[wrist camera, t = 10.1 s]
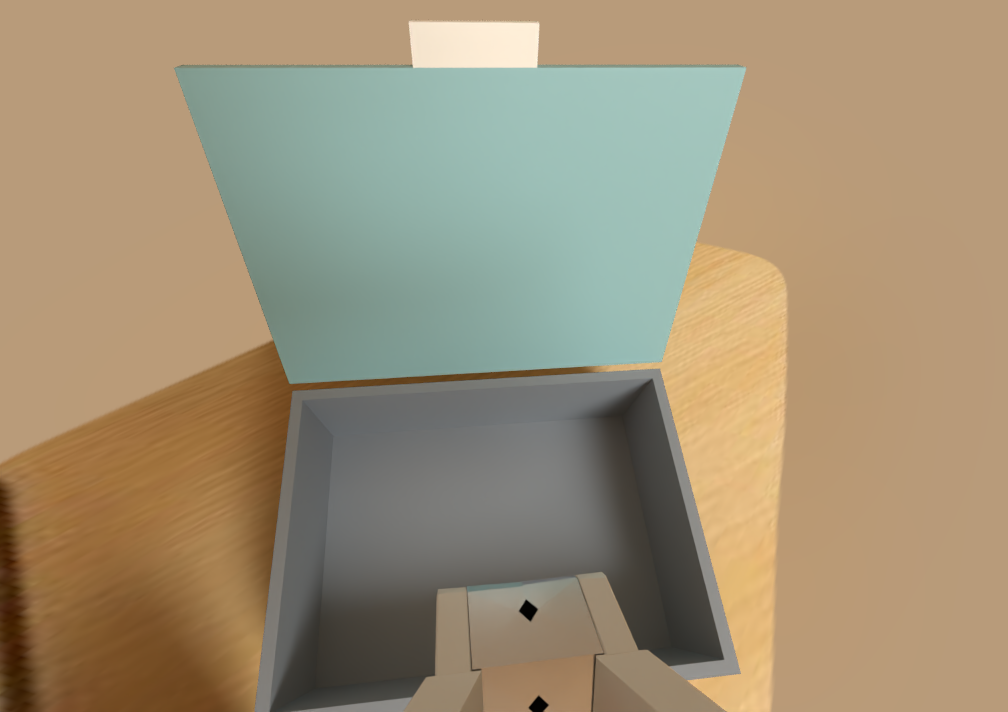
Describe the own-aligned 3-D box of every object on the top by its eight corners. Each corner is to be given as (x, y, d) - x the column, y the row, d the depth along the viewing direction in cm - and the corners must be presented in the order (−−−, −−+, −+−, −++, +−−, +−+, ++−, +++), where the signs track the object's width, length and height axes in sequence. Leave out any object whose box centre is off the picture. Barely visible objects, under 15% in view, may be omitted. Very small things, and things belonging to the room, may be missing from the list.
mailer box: (306, 701, 22) (251, 733, 17) (327, 431, 28) (292, 390, 22) (680, 657, 24) (740, 673, 18) (626, 410, 29) (659, 368, 24)
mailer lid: (156, 19, 14) (165, 18, 14) (289, 384, 23) (292, 375, 23) (758, 24, 15) (749, 22, 16) (661, 361, 24) (657, 354, 25)
